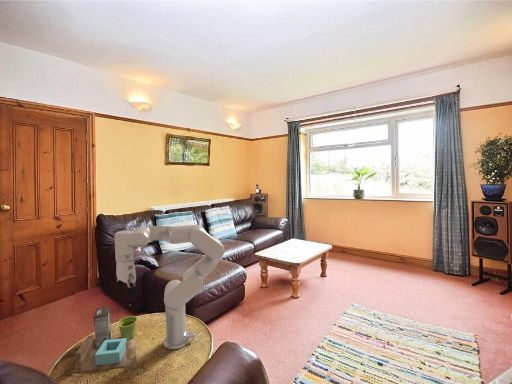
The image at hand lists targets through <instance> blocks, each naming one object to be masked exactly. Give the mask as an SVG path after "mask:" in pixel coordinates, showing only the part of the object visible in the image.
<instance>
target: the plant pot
mask: <svg viewBox="0 0 512 384" xmlns="http://www.w3.org/2000/svg"><path fill="white" fill-rule="evenodd" d="M137 322H138V317H137V316H134V315H130V316H126V317H123V318H121V319H119V321H118V322H117V326H118V329H119V331H120V337H121V339H122V338H127V341H128V340H131V339H134V337H135V335H136V328H137Z"/></svg>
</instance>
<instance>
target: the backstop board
mask: <svg viewBox="0 0 512 384" xmlns="http://www.w3.org/2000/svg"><path fill="white" fill-rule="evenodd" d="M94 340H95V338H94V335H88V336H87V337H86V339H85V340H84V341H83V343H82V344H81V345H80V346H79V348H78V350H77V351H76V352H75V369H74V370H73V374H75V373H77V374H78V373H84V372H85V373H86V372H92V371H101V370H110V369H111V370H112V369H118V368H119V369H120V368H127V364H126V351H125V353H124V355H123V357H122V359H121V361H120V363H113V364H104V365H96V361H95V354H96V353H97V351H98V350H99V348H100V347H97V348H95V341H94Z"/></svg>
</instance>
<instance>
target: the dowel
mask: <svg viewBox="0 0 512 384" xmlns="http://www.w3.org/2000/svg"><path fill="white" fill-rule="evenodd" d="M125 345H126V372H133V371H134V370H136V369H137V365H138V364H137V347H136V345H137V342H136V339H134V338H132V339H130V340H127V342H126V343H125Z"/></svg>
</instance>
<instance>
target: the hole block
mask: <svg viewBox="0 0 512 384" xmlns="http://www.w3.org/2000/svg"><path fill="white" fill-rule="evenodd" d="M127 341H128V340H127V338H122V337H121V338H111V340H105V341H104V342H103V344H102V345H101V347H98V348H99V350H98V351H97V353H96V354H95V361H96V365H104V364H113V363H120V361H121V359H122V357H123V355H124V353H125V351H126V345H125V343H126V342H127Z"/></svg>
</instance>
